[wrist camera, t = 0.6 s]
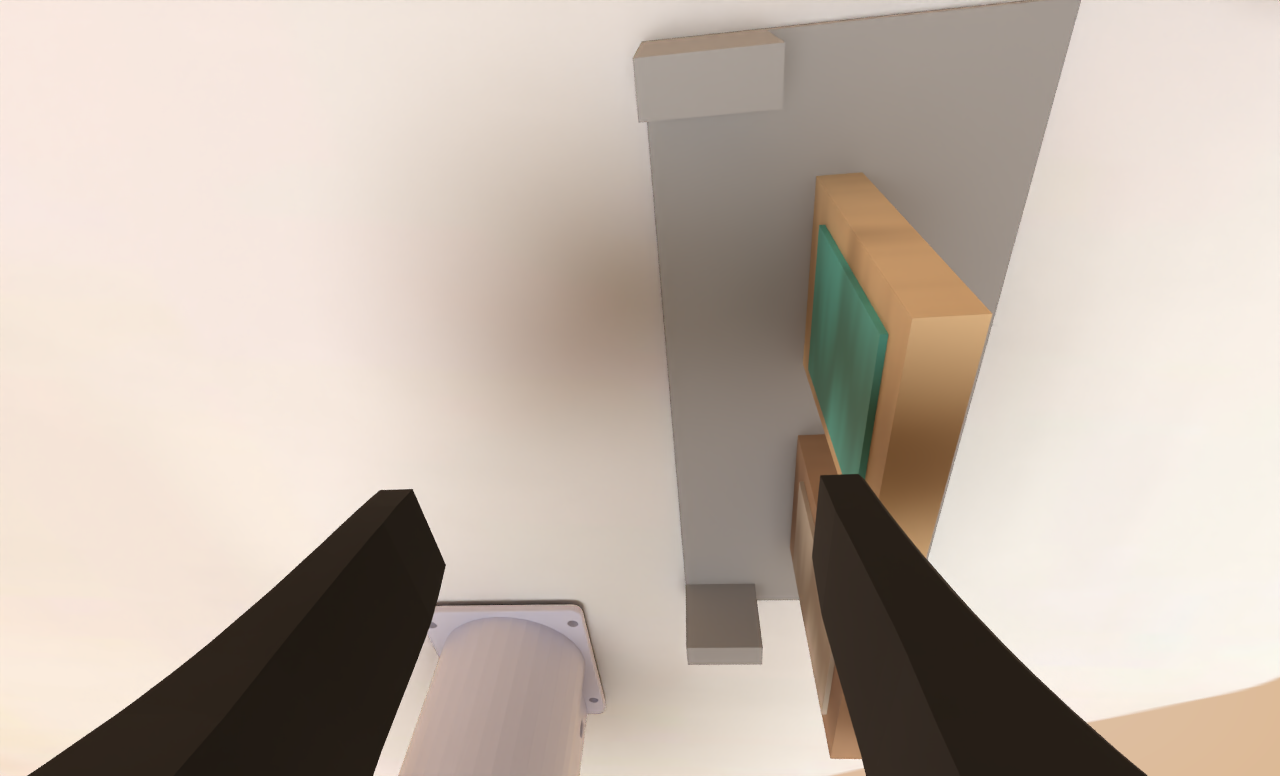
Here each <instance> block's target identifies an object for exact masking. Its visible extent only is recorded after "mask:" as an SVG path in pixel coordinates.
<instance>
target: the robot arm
mask: <svg viewBox="0 0 1280 776" xmlns="http://www.w3.org/2000/svg"><path fill="white" fill-rule="evenodd" d="M812 561H813V567H814V574H815V580H816V586H817V592H818V598H819V603H820V609H821V615H822V619H823V623H824V626H825V630H826V633H827V637H828V641H829V644H830V648H831V651H832V655H833V658H834V662H835V666H836V669H837V673H838V676H839V680H840V683H841V687H842V690H843V694H844V697H845V701H846V704H847V708H848V711H849V715H850V718H851V722H852V725H853V729H854V732H855V736H856V739H857V743H858V746H859V750H860V753H861V757H862V761H863V765H864V769H865V773H866V776H1147V775H1146V774H1145V773H1144V772H1143V771H1141V770H1140V769H1139V768H1137V767H1136V766H1135V765H1134V764H1133V763H1132V762H1130V761H1129V760H1128V759H1127V758H1126V757H1124V756H1123V755H1122V754H1121V753H1120V752H1119V751H1117V750H1116V749H1115V748H1114V747H1113V746H1112V745H1111V744H1109V743H1108V742H1107V741H1106V740H1105V739H1104V738H1103V737H1102V736H1101V735H1099V734H1098V733H1097V732H1096V731H1095V730H1094V729H1093V728H1092V727H1091V726H1089V725H1088V724H1087V723H1086V722H1085V721H1084V720H1083V719H1082V718H1080V717H1079V716H1078V715H1077V714H1076V713H1075V712H1074V711H1073V710H1072V709H1070V708H1069V707H1068V706H1067V705H1066V704H1065V703H1064V702H1063V701H1062V700H1061V699H1060V698H1059V697H1058V696H1057V695H1056V694H1054V693H1053V692H1052V691H1051V690H1050V689H1049V688H1048V687H1047V686H1046V685H1045V684H1044V683H1043V682H1042V681H1041V680H1040V679H1039V678H1037V677H1036V676H1035V675H1034V674H1033V673H1032V672H1031V671H1030V670H1029V669H1028V668H1027V667H1026V666H1025V665H1024V664H1023V663H1022V662H1021V661H1020V660H1019V659H1018V658H1017V657H1016V656H1015V655H1014V654H1013V653H1012V652H1011V651H1010V650H1009V649H1008V648H1007V647H1006V646H1005V645H1004V644H1003V643H1002V642H1001V641H1000V640H999V639H998V638H997V636H996V635H995V634H994V633H993V632H992V631H991V630H990V629H989V628H988V627H987V626H986V625H985V624H984V623H983V622H982V621H981V620H980V619H979V618H978V616H977V615H976V614H975V613H974V612H973V611H972V610H971V609H970V608H969V607H968V606H967V605H966V603H965V602H964V601H963V600H962V599H961V598H960V597H959V596H958V595H957V594H956V592H955V591H954V590H953V589H952V588H951V587H950V586H949V584H948V583H947V582H946V581H945V580H944V579H943V577H942V576H941V575H940V574H939V573H938V572H937V570H936V569H935V568H934V567H933V566H932V565H931V564H930V562H929V561H928V560H927V559H926V558H925V557H924V555H923V554H922V553H921V552H920V551H919V549H918V548H917V547H916V546H915V544H914V543H913V542H912V541H911V540H910V538H909V537H908V536H907V535H906V533H905V532H904V531H903V530H902V528H901V527H900V526H899V524H898V523H897V522H896V521H895V519H894V518H893V517H892V516H891V514H890V513H889V512H888V510H887V509H886V508H885V506H884V505H883V504H882V502H881V501H880V500H879V498H878V497H877V496H876V494H875V493H874V492H873V490H872V489H871V487H870V486H869V485H868V483H867V482H866V481H865V479H864V478H863V477H861V476H860V475H859V474H841V475H820V482H819V491H818V501H817V511H816V521H815V531H814V541H813V551H812ZM445 566H446V564H445V562H444V560H443V558H442V555H441V553H440V551H439V549H438V546H437V544H436V542H435V539H434V537H433V535H432V533H431V530H430V528H429V526H428V523H427V521H426V519H425V517H424V514H423V512H422V510H421V507H420V505H419V503H418V501H417V498H416V496H415V494H414V491H413V489H403V490H380V491H378V492H377V493H376V494H375V495H374V496H373V497H372V498H370V499H369V500H368V501H367V502H366V503H365V504H364V505H363V506H361V507H360V508H359V509H358V510H357V511H356V512H355V513H354V514H353V515H352V516H351V517H349V518H348V519H347V520H346V521H345V522H344V523H343V524H342V525H341V526H340V527H339V528H338V529H337V530H336V531H334V532H333V533H332V534H331V535H330V536H329V537H328V538H327V539H326V540H325V541H324V542H323V543H322V544H321V545H320V546H318V547H317V548H316V549H315V550H314V551H313V552H312V553H311V554H310V555H309V556H308V557H307V558H305V559H304V560H303V561H302V562H301V563H300V564H299V565H298V566H297V567H296V568H295V569H294V570H292V571H291V572H290V573H289V574H288V575H287V576H286V577H285V578H284V579H283V580H282V581H280V582H279V583H278V584H277V585H276V586H275V587H274V588H273V589H272V590H271V591H269V592H268V593H267V594H266V595H265V596H264V597H262V598H261V599H260V600H259V601H258V602H257V603H255V604H254V605H253V606H252V607H251V608H250V609H248V610H247V611H246V612H245V613H244V614H243V615H242V616H240V617H239V618H238V619H237V620H236V621H235V622H233V623H232V624H231V625H230V626H229V627H228V628H226V629H225V630H224V631H223V632H222V633H221V634H219V635H218V636H217V637H216V638H215V639H214V640H212V641H211V642H210V643H209V644H208V645H206V646H205V647H204V648H203V649H201V650H200V651H199V652H198V653H197V654H195V655H194V656H193V657H192V658H190V659H189V660H188V661H187V662H185V663H184V664H183V665H181V666H180V667H179V668H178V669H176V670H175V671H174V672H173V673H171V674H170V675H169V676H167V677H166V678H165V679H163V680H162V681H161V682H159V683H158V684H157V685H155V686H154V687H153V688H151V689H150V690H149V691H147V692H146V693H145V694H144V695H142V696H141V697H140V698H138V699H137V700H136V701H134V702H133V703H132V704H130V705H129V706H127V707H126V708H125V709H123V710H122V711H121V712H119V713H118V714H116V715H115V716H114V717H112V718H111V719H109V720H108V721H106V722H105V723H103V724H102V725H101V726H99V727H98V728H96V729H95V730H93V731H92V732H90V733H89V734H87V735H86V736H85V737H83V738H82V739H80V740H79V741H77V742H76V743H74V744H73V745H72V746H70V747H69V748H67V749H66V750H64V751H63V752H61V753H60V754H59V755H57V756H56V757H54V758H53V759H51V760H50V761H48V762H47V763H46V764H44V765H43V766H41V767H40V768H38V769H37V770H35V771H34V772H32V773H31V774H29V775H28V776H373V774H374V771H375V768H376V766H377V763H378V760H379V757H380V754H381V751H382V749H383V746H384V743H385V741H386V738H387V736H388V733H389V731H390V728H391V726H392V723H393V720H394V718H395V715H396V713H397V710H398V708H399V705H400V703H401V700H402V697H403V695H404V692H405V690H406V687H407V685H408V682H409V680H410V677H411V674H412V672H413V669H414V667H415V664H416V662H417V659H418V656H419V654H420V651H421V648H422V646H423V643H424V641H425V638H426V635H428V637H429V639H430V640H431V642H432V644H433V646H434V648H435V650H436V652H437V654H438V656H439V661H438V664H437V667H436V670H435V672H434V675H433V678H432V681H431V684H430V687H429V690H428V692H427V695H426V698H425V701H424V704H423V707H422V710H421V712H420V715H419V718H418V721H417V724H416V727H415V730H414V732H413V735H412V738H411V741H410V744H409V747H408V750H407V752H406V755H405V758H404V761H403V764H402V767H401V770H400V772H399V775H398V776H579V775H580V767H581V759H582V751H583V743H584V735H585V727H586V719H587V714H600V713H603V712H604V711H605V706H606V702H605V698H604V694H603V690H602V686H601V682H600V678H599V674H598V670H597V666H596V662H595V658H594V654H593V650H592V646H591V642H590V638H589V634H588V630H587V626H586V622H585V618H584V615H583V611H582V609H581V608H580V607H579V606H577V605H573V604H556V605H472V606H436V603H437V600H438V596H439V592H440V587H441V583H442V579H443V574H444V570H445Z"/></svg>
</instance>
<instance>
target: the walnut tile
mask: <svg viewBox="0 0 1280 776" xmlns="http://www.w3.org/2000/svg"><path fill="white" fill-rule="evenodd" d="M820 475H838V474H837V470H836V467H835V464H834V461H833V458H832V455H831V451H830V448H829V445H828V442H827V439H826V436H825V434H818V435H798V440H797V454H796V468H795V482H794V496H793V510H792V525H791V539H790V551H791V556H792V562H793V569H794V574H795V579H796V584H797V589H798V595H799V600H800V605H801V610H802V616H803V621H804V626H805V631H806V636H807V642H808V647H809V652H810V657H811V662H812V668H813V673H814V678H815V683H816V688H817V694H818V699H819V704H820V709H821V715H822V717H823V723H824V728H825V733H826V738H827V743H828V749H829V754H830V759H862V757H861V753H860V750H859V746H858V743H857V739H856V736H855V732H854V729H853V725H852V722H851V718H850V715H849V711H848V708H847V704H846V701H845V697H844V694H843V690H842V687H841V683H840V680H839V676H838V673H837V669H836V666H835V662H834V658H833V655H832V651H831V648H830V644H829V641H828V637H827V633H826V630H825V626H824V623H823V619H822V615H821V609H820V603H819V598H818V592H817V586H816V580H815V574H814V567H813V561H812V551H813V541H814V531H815V521H816V511H817V501H818V491H819V482H820Z"/></svg>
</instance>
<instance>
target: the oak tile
mask: <svg viewBox="0 0 1280 776" xmlns="http://www.w3.org/2000/svg"><path fill="white" fill-rule="evenodd" d="M991 317H992V313H991V312H990V311H989V310H988V308H987V307H986V306H985V305H984V304H983V303H982V302H981V301H980V300H979V299H978V298H977V296H976V295H975V294H974V293H973V292H972V291H971V290H970V289H969V288H968V287H967V286H966V284H965V283H964V282H963V281H962V280H961V279H960V278H959V277H958V276H957V275H956V274H955V273H954V271H953V270H952V269H951V268H950V267H949V266H948V265H947V264H946V263H945V262H944V261H943V259H942V258H941V257H940V256H939V255H938V254H937V253H936V252H935V251H934V250H933V249H932V247H931V246H930V245H929V244H928V243H927V242H926V241H925V240H924V239H923V238H922V237H921V236H920V234H919V233H918V232H917V231H916V230H915V229H914V228H913V227H912V226H911V225H910V224H909V222H908V221H907V220H906V219H905V218H904V217H903V216H902V215H901V214H900V213H899V212H898V210H897V209H896V208H895V207H894V206H893V205H892V204H891V203H890V202H889V201H888V200H887V198H886V197H885V196H884V195H883V194H882V193H881V192H880V191H879V190H878V189H877V188H876V187H875V185H874V184H873V183H872V182H871V181H870V180H869V179H868V178H867V177H866V176H865V175H864V173H863V172H860V173H848V174H835V175H823V176H816V187H815V201H814V215H813V229H812V243H811V257H810V271H809V285H808V300H807V314H806V328H805V342H804V356H803V366H804V369H805V372H806V376H807V379H808V382H809V385H810V388H811V391H812V394H813V398H814V401H815V404H816V407H817V410H818V413H819V417H820V420H821V423H822V426H823V429H824V432H825V436H826V439H827V442H828V445H829V448H830V451H831V455H832V458H833V461H834V464H835V467H836V470H837V474H838V475H841V474H859V475H860V476H861V477H863V478H864V479H865V481H866V482H867V483H868V485H869V486H870V487H871V489H872V490H873V492H874V493H875V494H876V496H877V497H878V498H879V500H880V501H881V502H882V504H883V505H884V506H885V508H886V509H887V510H888V512H889V513H890V514H891V516H892V517H893V518H894V519H895V521H896V522H897V523H898V524H899V526H900V527H901V528H902V530H903V531H904V532H905V533H906V535H907V536H908V537H909V538H910V540H911V541H912V542H913V543H914V544H915V546H916V547H917V548H918V549H919V551H920V552H921V553H922V554H923V555H924V557H925V558H926V557H927V553H928V549H929V546H930V542H931V538H932V535H933V531H934V527H935V524H936V520H937V516H938V513H939V509H940V505H941V501H942V498H943V494H944V490H945V487H946V483H947V479H948V476H949V472H950V468H951V465H952V461H953V457H954V454H955V450H956V446H957V443H958V439H959V435H960V432H961V428H962V424H963V420H964V417H965V413H966V409H967V406H968V402H969V398H970V395H971V391H972V387H973V384H974V380H975V376H976V373H977V369H978V365H979V362H980V358H981V354H982V351H983V347H984V343H985V339H986V336H987V332H988V328H989V325H990V321H991Z"/></svg>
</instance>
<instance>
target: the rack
mask: <svg viewBox="0 0 1280 776" xmlns="http://www.w3.org/2000/svg"><path fill="white" fill-rule="evenodd" d="M1080 2H1081V0H1027V1H1018V2H1008V3H999V4H990V5H980V6H971V7H962V8H952V9H943V10H934V11H924V12H915V13H905V14H896V15H887V16H877V17H868V18H859V19H849V20H840V21H831V22H821V23H812V24H803V25H793V26H784V27H774V28H765V29H756V30H746V31H737V32H728V33H718V34H709V35H700V36H690V37H681V38H672V39H662V40H653V41H644V42H641V44H640V46H639V48H638V50H637V51H636V53H635V55H634V57H633V66H634V77H635V88H636V99H637V110H638V121H639V122H647V125H648V137H649V149H650V161H651V173H652V185H653V197H654V209H655V221H656V233H657V245H658V257H659V269H660V281H661V293H662V305H663V317H664V329H665V341H666V353H667V365H668V377H669V389H670V401H671V413H672V425H673V437H674V449H675V461H676V473H677V485H678V497H679V509H680V521H681V533H682V545H683V557H684V569H685V581H686V648H687V659H688V665H710V664H762V650H763V647H762V639H761V631H760V623H759V615H758V607H757V600H799V595H798V589H797V584H796V579H795V574H794V569H793V562H792V556H791V551H790V539H791V525H792V510H793V496H794V482H795V468H796V454H797V440H798V435H818V434H825V432H824V429H823V426H822V423H821V420H820V417H819V413H818V410H817V407H816V404H815V401H814V398H813V394H812V391H811V388H810V385H809V382H808V379H807V376H806V372H805V369H804V366H803V356H804V342H805V328H806V314H807V300H808V285H809V271H810V257H811V243H812V229H813V215H814V201H815V187H816V176H823V175H835V174H848V173H860V172H863V173H864V175H865V176H866V177H867V178H868V179H869V180H870V181H871V182H872V183H873V184H874V185H875V187H876V188H877V189H878V190H879V191H880V192H881V193H882V194H883V195H884V196H885V197H886V198H887V200H888V201H889V202H890V203H891V204H892V205H893V206H894V207H895V208H896V209H897V210H898V212H899V213H900V214H901V215H902V216H903V217H904V218H905V219H906V220H907V221H908V222H909V224H910V225H911V226H912V227H913V228H914V229H915V230H916V231H917V232H918V233H919V234H920V236H921V237H922V238H923V239H924V240H925V241H926V242H927V243H928V244H929V245H930V246H931V247H932V249H933V250H934V251H935V252H936V253H937V254H938V255H939V256H940V257H941V258H942V259H943V261H944V262H945V263H946V264H947V265H948V266H949V267H950V268H951V269H952V270H953V271H954V273H955V274H956V275H957V276H958V277H959V278H960V279H961V280H962V281H963V282H964V283H965V284H966V286H967V287H968V288H969V289H970V290H971V291H972V292H973V293H974V294H975V295H976V296H977V298H978V299H979V300H980V301H981V302H982V303H983V304H984V305H985V306H986V307H987V308H988V310H989V311H990V312H991V313H992V317H991V321H990V325H989V328H988V332H987V336H986V339H985V343H984V347H983V351H982V354H981V358H980V362H979V365H978V369H977V373H976V376H975V380H974V384H973V387H972V391H971V395H970V398H969V402H968V406H967V409H966V413H965V417H964V420H963V424H962V428H961V432H960V435H959V439H958V443H957V446H956V450H955V454H954V457H953V461H952V465H951V468H950V472H949V476H948V479H947V483H946V487H945V490H944V494H943V498H942V501H941V505H940V509H939V513H938V516H937V520H936V524H935V527H934V531H933V535H932V538H931V542H930V546H929V549H928V553H927V557H926V559H927V560H928V556H929V553H930V549H931V545H932V542H933V538H934V534H935V531H936V527H937V523H938V520H939V516H940V512H941V509H942V505H943V502H944V498H945V494H946V491H947V487H948V483H949V480H950V476H951V472H952V469H953V465H954V461H955V458H956V454H957V450H958V447H959V443H960V440H961V436H962V432H963V429H964V425H965V421H966V418H967V414H968V410H969V407H970V403H971V399H972V396H973V392H974V389H975V385H976V381H977V378H978V374H979V370H980V367H981V363H982V359H983V356H984V352H985V348H986V345H987V341H988V337H989V334H990V330H991V327H992V323H993V319H994V316H995V312H996V308H997V305H998V301H999V297H1000V294H1001V290H1002V286H1003V283H1004V279H1005V276H1006V272H1007V268H1008V265H1009V261H1010V257H1011V254H1012V250H1013V246H1014V243H1015V239H1016V235H1017V232H1018V228H1019V224H1020V221H1021V217H1022V214H1023V210H1024V206H1025V203H1026V199H1027V195H1028V192H1029V188H1030V184H1031V181H1032V177H1033V173H1034V170H1035V166H1036V163H1037V159H1038V155H1039V152H1040V148H1041V144H1042V141H1043V137H1044V133H1045V130H1046V126H1047V122H1048V119H1049V115H1050V111H1051V108H1052V104H1053V101H1054V97H1055V93H1056V90H1057V86H1058V82H1059V79H1060V75H1061V71H1062V68H1063V64H1064V60H1065V57H1066V53H1067V50H1068V46H1069V42H1070V39H1071V35H1072V31H1073V28H1074V24H1075V20H1076V17H1077V13H1078V9H1079V6H1080Z"/></svg>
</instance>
